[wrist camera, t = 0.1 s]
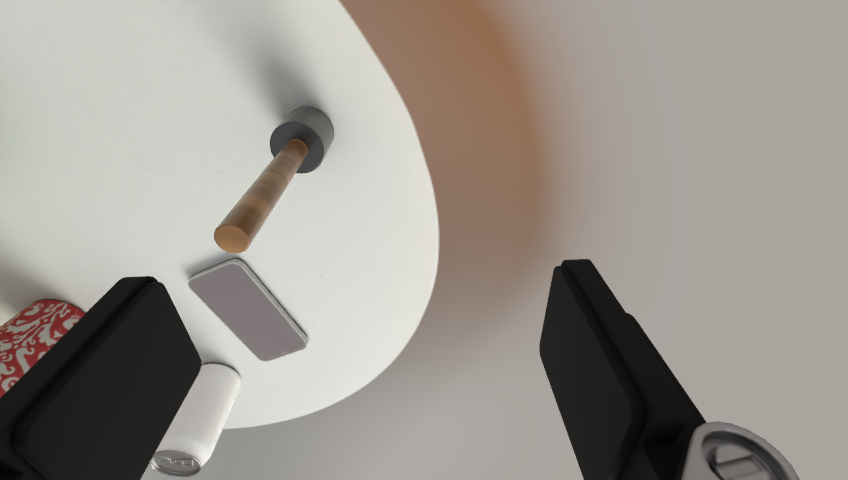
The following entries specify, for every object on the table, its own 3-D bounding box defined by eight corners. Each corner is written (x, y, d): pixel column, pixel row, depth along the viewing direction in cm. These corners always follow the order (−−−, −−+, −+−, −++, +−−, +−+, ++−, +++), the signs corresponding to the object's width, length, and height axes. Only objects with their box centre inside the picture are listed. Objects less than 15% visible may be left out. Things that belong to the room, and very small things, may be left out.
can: (191, 359, 52) (139, 447, 42) (241, 364, 53) (201, 451, 43) (197, 389, 56) (149, 477, 46) (243, 393, 57) (207, 481, 46)
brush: (281, 107, 35) (173, 203, 19) (330, 105, 35) (263, 200, 19) (291, 154, 38) (203, 274, 22) (337, 152, 38) (282, 271, 22)
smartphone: (236, 259, 43) (310, 346, 50) (240, 255, 44) (312, 341, 51) (183, 282, 44) (262, 363, 52) (186, 277, 45) (264, 358, 52)
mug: (1, 307, 47) (-131, 409, 35) (55, 282, 45) (-65, 380, 34) (90, 370, 53) (2, 473, 42) (140, 349, 51) (64, 452, 40)
